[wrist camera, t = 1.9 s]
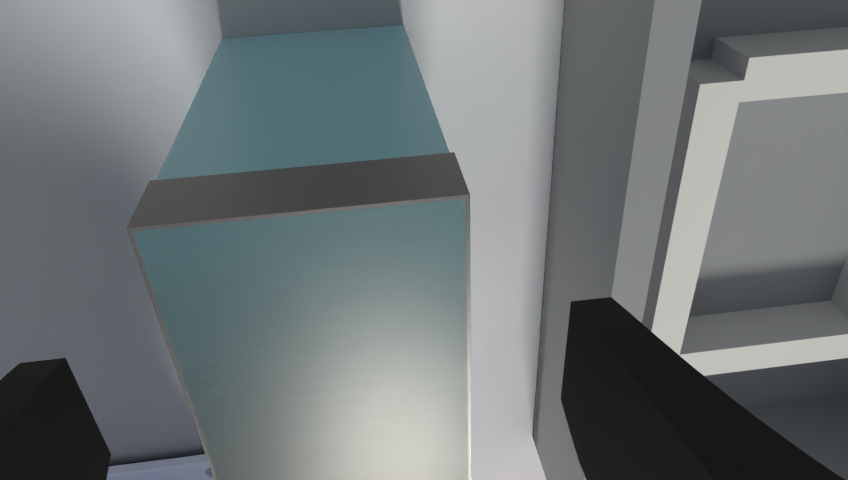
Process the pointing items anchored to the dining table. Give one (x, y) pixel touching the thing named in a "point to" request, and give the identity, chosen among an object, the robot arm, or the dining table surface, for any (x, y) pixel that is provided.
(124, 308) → the dining table surface
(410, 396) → the grey-banded teal box
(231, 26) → the dining table surface
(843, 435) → the walled box
